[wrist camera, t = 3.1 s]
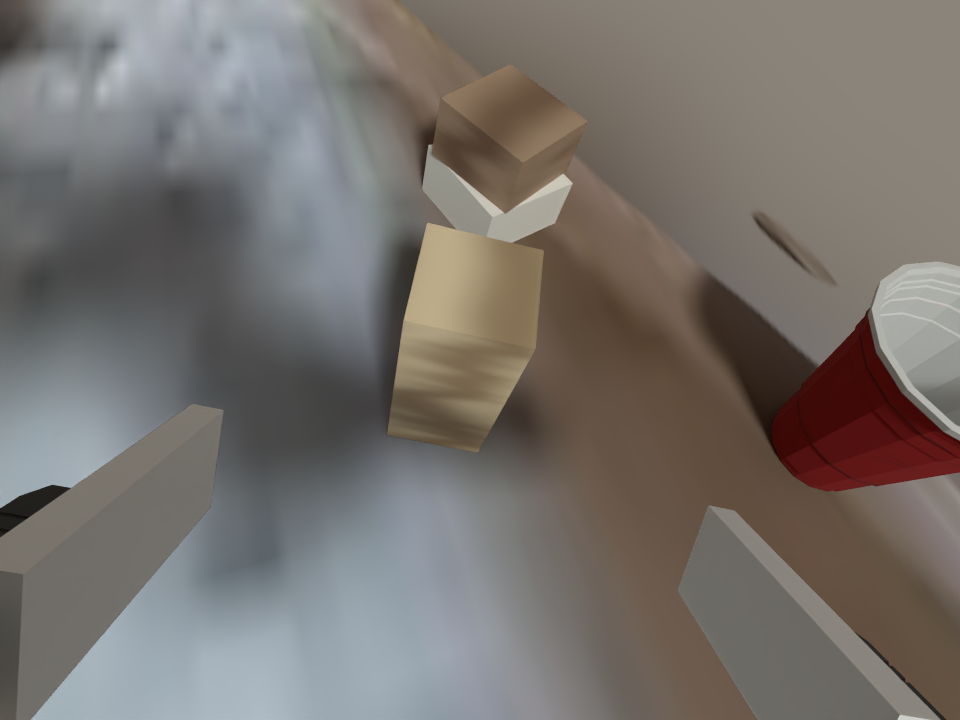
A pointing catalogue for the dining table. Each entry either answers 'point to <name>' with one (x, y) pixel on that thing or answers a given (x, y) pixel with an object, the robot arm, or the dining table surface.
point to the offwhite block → (490, 204)
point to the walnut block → (506, 136)
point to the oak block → (464, 337)
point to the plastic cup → (883, 391)
